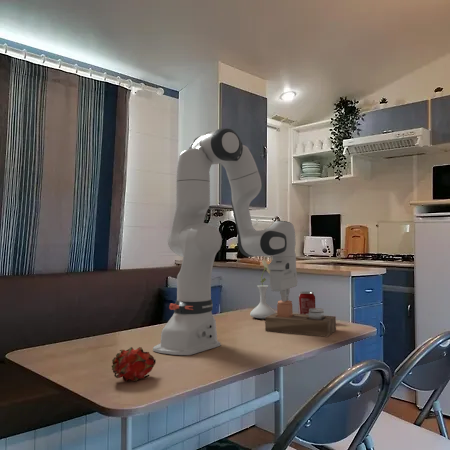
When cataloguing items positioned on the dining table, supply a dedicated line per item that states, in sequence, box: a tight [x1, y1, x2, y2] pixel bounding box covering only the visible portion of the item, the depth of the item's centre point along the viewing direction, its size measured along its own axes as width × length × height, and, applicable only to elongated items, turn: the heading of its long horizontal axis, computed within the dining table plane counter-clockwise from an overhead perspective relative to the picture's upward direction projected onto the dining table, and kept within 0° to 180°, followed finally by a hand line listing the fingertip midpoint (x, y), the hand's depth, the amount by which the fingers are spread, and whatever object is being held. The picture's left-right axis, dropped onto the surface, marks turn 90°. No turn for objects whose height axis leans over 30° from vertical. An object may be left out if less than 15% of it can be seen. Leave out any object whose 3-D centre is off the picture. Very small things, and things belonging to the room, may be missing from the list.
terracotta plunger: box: [276, 300, 294, 318], centre depth 167 cm, size 5×5×7 cm
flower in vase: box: [249, 259, 277, 320], centre depth 193 cm, size 13×11×25 cm
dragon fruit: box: [111, 346, 157, 382], centre depth 108 cm, size 8×8×12 cm
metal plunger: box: [309, 307, 325, 320], centre depth 161 cm, size 5×5×7 cm
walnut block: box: [264, 312, 337, 337], centre depth 164 cm, size 12×23×5 cm, turn 63°
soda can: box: [297, 290, 316, 315], centre depth 181 cm, size 7×7×12 cm
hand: (285, 301), depth 167 cm, fingers closed, pressing on terracotta plunger
